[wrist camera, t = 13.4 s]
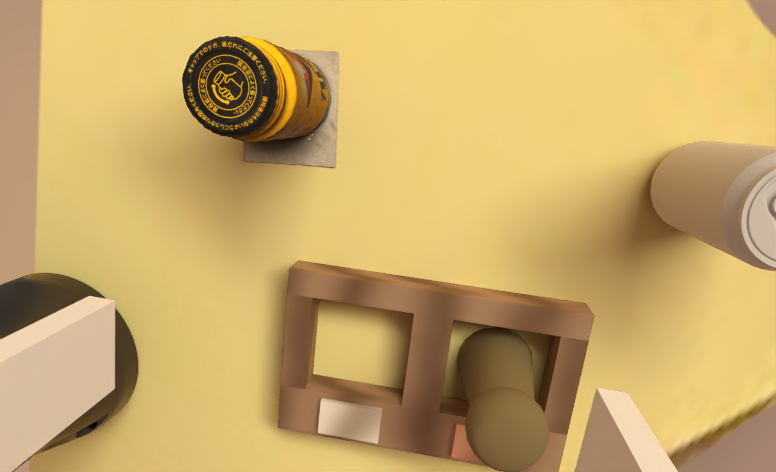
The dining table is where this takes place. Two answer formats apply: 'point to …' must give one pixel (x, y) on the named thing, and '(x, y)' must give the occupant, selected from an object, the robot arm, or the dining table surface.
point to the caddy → (420, 362)
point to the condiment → (266, 98)
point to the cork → (502, 400)
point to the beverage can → (721, 197)
